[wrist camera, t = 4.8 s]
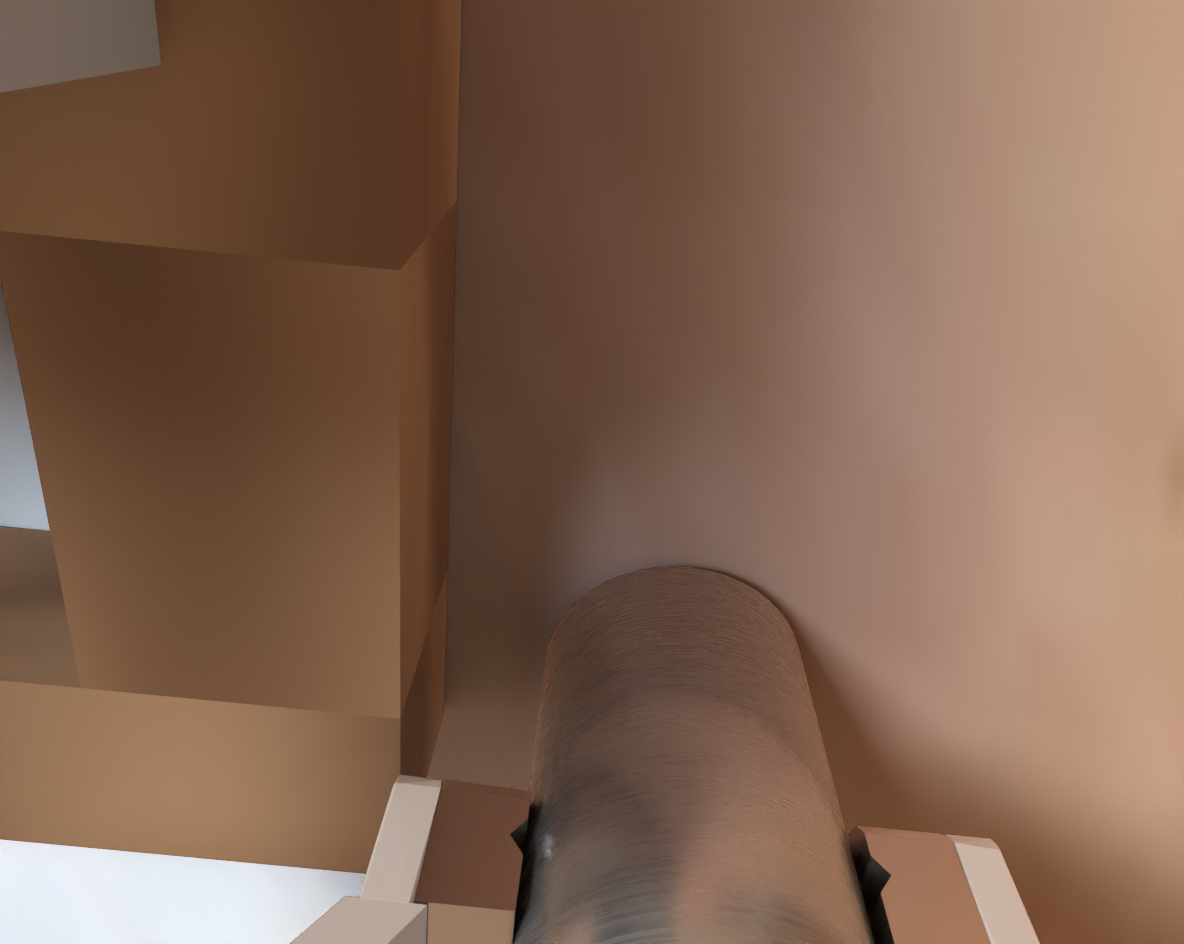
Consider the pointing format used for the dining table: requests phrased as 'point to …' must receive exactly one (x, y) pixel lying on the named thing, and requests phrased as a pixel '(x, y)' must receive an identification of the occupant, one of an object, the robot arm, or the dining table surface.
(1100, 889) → the dining table surface
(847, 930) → the stub peg
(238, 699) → the socket block
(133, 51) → the housing cap
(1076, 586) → the dining table surface
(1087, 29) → the dining table surface
